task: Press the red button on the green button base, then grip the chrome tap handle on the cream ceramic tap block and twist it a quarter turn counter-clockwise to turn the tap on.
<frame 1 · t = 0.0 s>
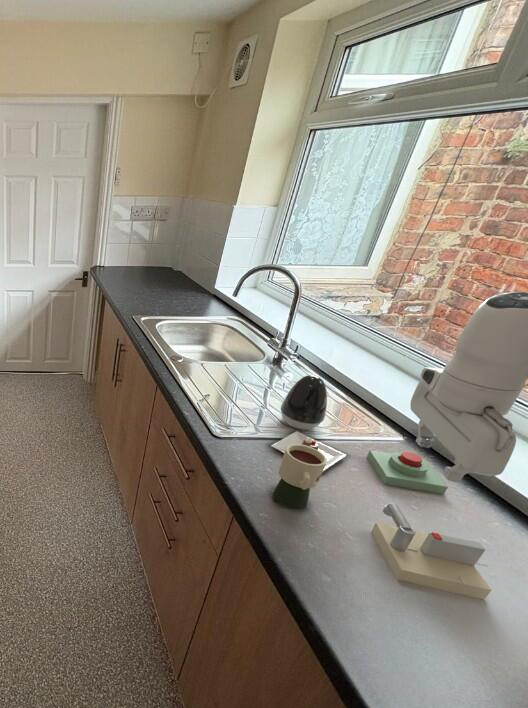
hand: (435, 460, 73), 19 cm above the worktop, tool pointing down, fingers open, 8 cm apart
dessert: (306, 454, 104), on the worktop
green button base: (402, 474, 97), on the worktop
spout: (390, 559, 77), resting on tap block
black egg shaped dome: (297, 424, 116), on the worktop
tap handle: (451, 548, 72), point 6 cm above the worktop, hinge at 0.0°
tap block: (420, 566, 75), on the worktop
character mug: (288, 502, 90), on the worktop
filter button: (410, 459, 95), point 4 cm above the worktop, slide at 0.1 cm
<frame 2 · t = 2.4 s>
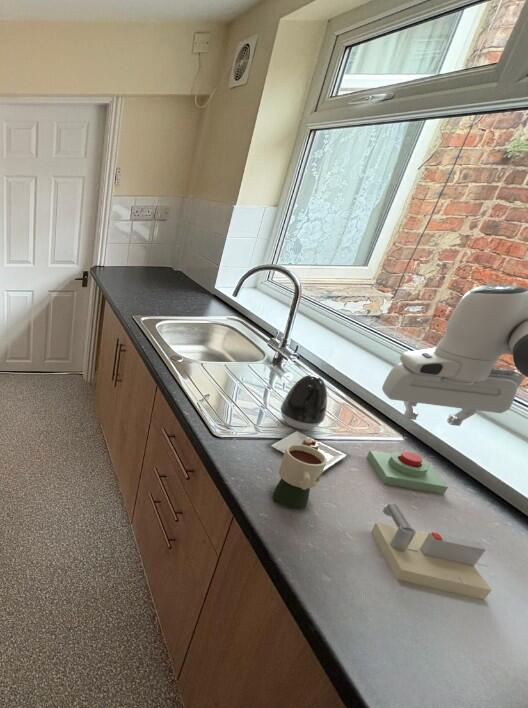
hand: (430, 421, 90), 15 cm above the worktop, tool pointing down, fingers open, 6 cm apart
nothing on the worktop moved.
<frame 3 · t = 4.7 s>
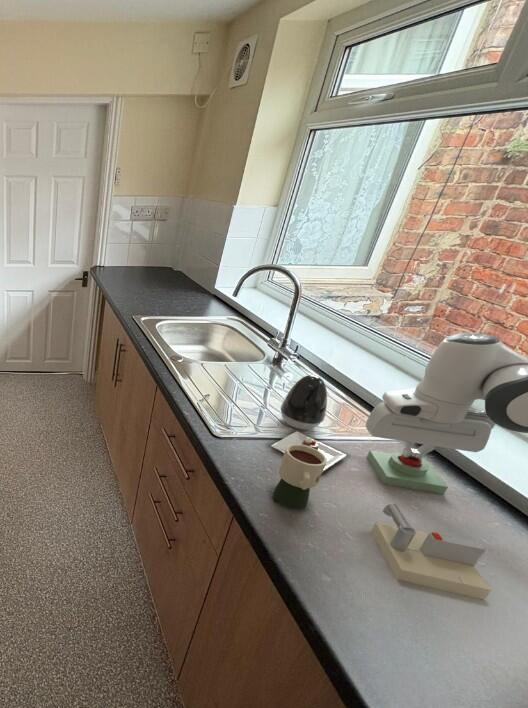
hand: (411, 456, 95), 5 cm above the worktop, tool pointing down, fingers closed, pressing on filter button
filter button: (410, 460, 95), point 4 cm above the worktop, slide at -0.1 cm, touching gripper
everything else where it was.
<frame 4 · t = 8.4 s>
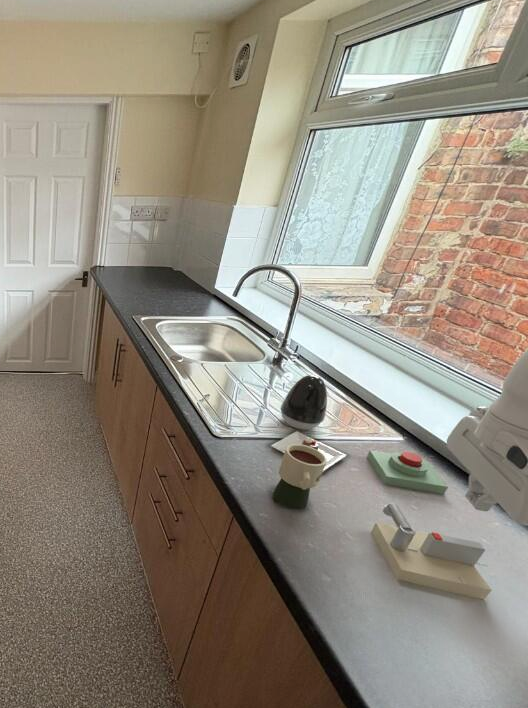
hand: (475, 504, 68), 15 cm above the worktop, tool pointing down, fingers closed
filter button: (410, 459, 95), point 4 cm above the worktop, slide at 0.1 cm
everything else where it was.
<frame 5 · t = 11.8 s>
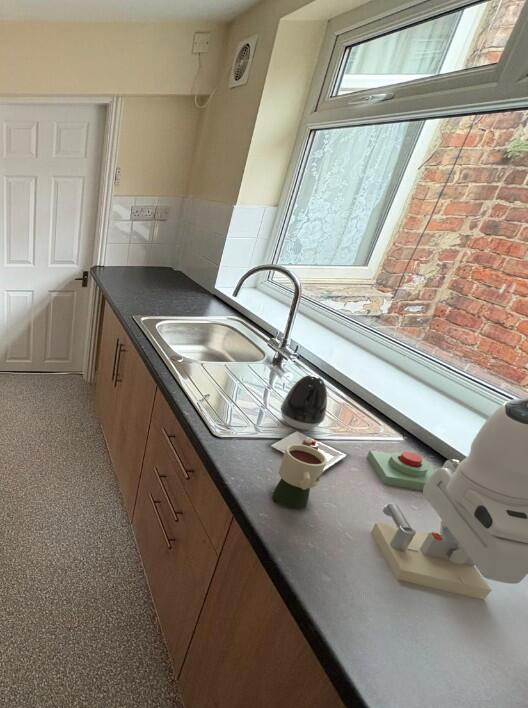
hand: (449, 552, 73), 5 cm above the worktop, tool pointing down, fingers closed on tap handle, 2 cm apart
tap handle: (451, 548, 72), point 6 cm above the worktop, hinge at 0.0°, touching gripper
everything else where it was.
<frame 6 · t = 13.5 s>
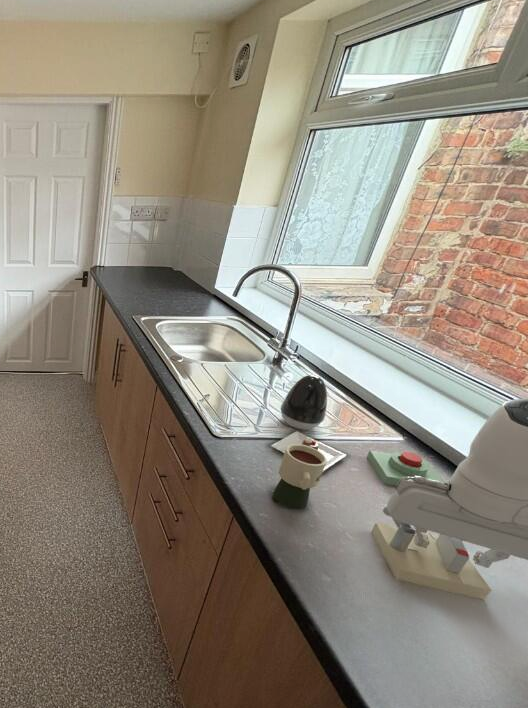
hand: (448, 553, 73), 4 cm above the worktop, tool pointing down, fingers open, 7 cm apart
tap handle: (451, 548, 72), point 6 cm above the worktop, hinge at 78.7°
everything else where it was.
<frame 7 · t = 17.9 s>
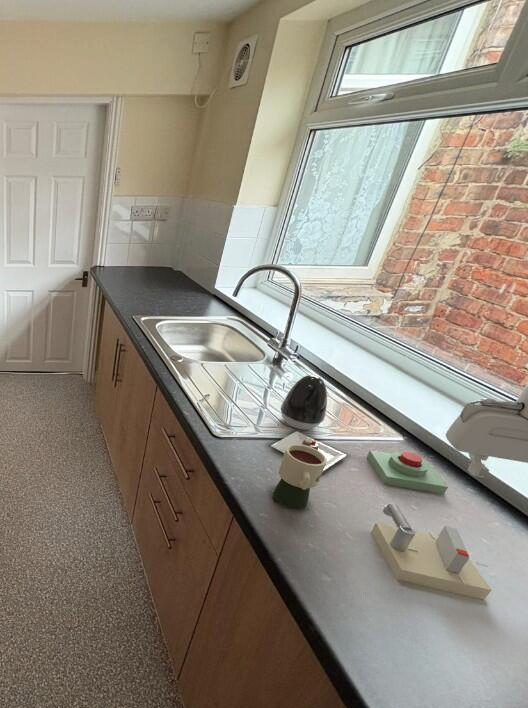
hand: (513, 481, 67), 20 cm above the worktop, tool pointing down, fingers open, 8 cm apart
nothing on the worktop moved.
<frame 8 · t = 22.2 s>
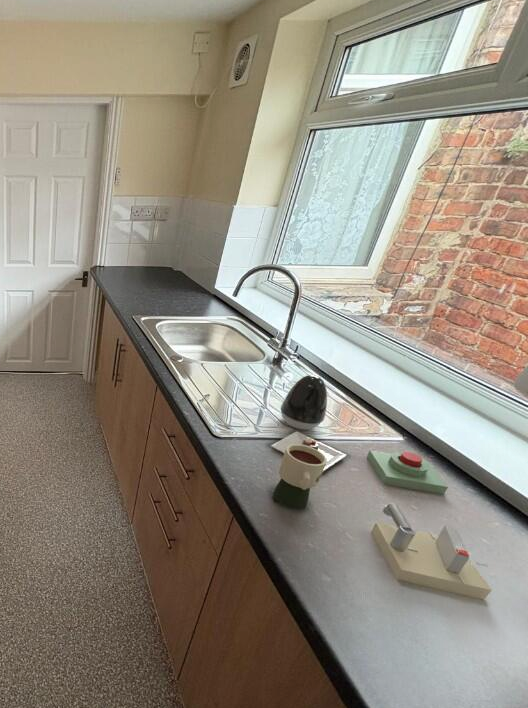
nothing on the worktop moved.
at the end: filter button pushed in 1.1 cm at the most during the clip, back to where it started at the end; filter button slide at 0.1 cm; tap handle at +79° (first picture: +0°) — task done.
